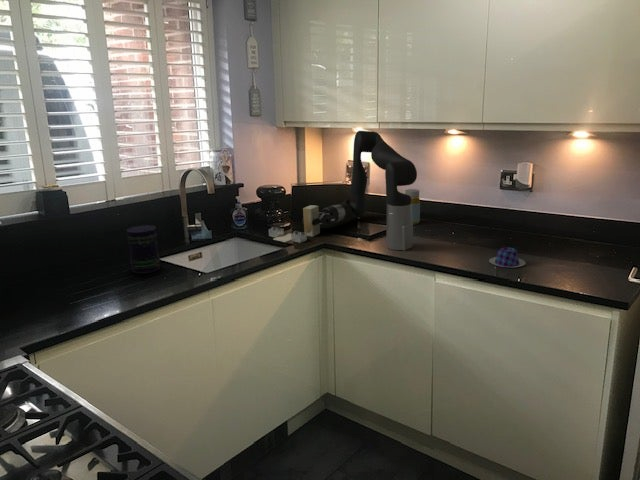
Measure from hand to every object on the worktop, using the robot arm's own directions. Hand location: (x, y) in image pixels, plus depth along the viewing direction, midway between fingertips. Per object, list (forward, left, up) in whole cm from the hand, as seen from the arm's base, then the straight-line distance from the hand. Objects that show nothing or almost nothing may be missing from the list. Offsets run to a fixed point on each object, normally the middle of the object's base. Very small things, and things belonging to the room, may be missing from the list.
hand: (307, 222), depth 230 cm
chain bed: (+5, +7, -6) cm, 11 cm away
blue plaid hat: (-81, -13, -7) cm, 82 cm away
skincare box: (0, -3, -6) cm, 7 cm away
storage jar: (+20, +65, -6) cm, 69 cm away
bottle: (-25, -43, -6) cm, 50 cm away
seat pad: (+5, +7, -6) cm, 11 cm away
